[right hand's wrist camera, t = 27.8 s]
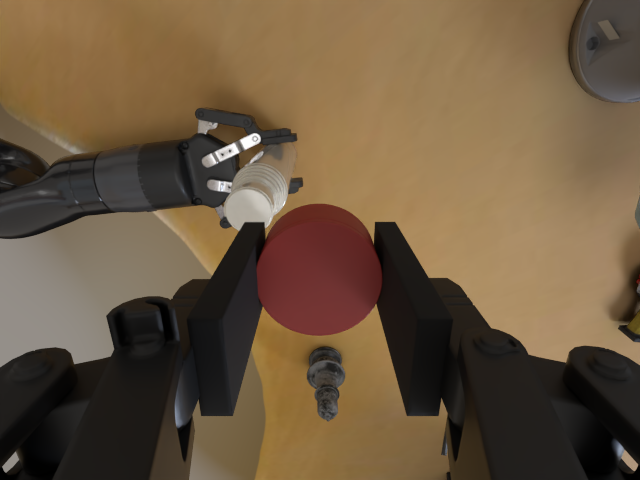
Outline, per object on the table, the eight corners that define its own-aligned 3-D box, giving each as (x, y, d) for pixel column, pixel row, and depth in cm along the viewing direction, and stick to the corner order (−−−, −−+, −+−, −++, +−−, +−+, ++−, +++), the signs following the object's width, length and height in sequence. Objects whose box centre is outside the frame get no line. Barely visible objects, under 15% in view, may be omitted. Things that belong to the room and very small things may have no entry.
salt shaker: (310, 377, 61) (310, 440, 50) (304, 348, 59) (302, 407, 48) (345, 372, 61) (353, 434, 49) (340, 343, 58) (347, 401, 47)
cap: (315, 179, 13) (314, 193, 11) (397, 253, 14) (409, 279, 12) (241, 259, 14) (228, 285, 12) (321, 322, 15) (322, 356, 13)
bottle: (295, 135, 47) (277, 175, 23) (298, 170, 49) (286, 240, 25) (260, 138, 47) (207, 181, 23) (265, 173, 49) (220, 245, 25)
